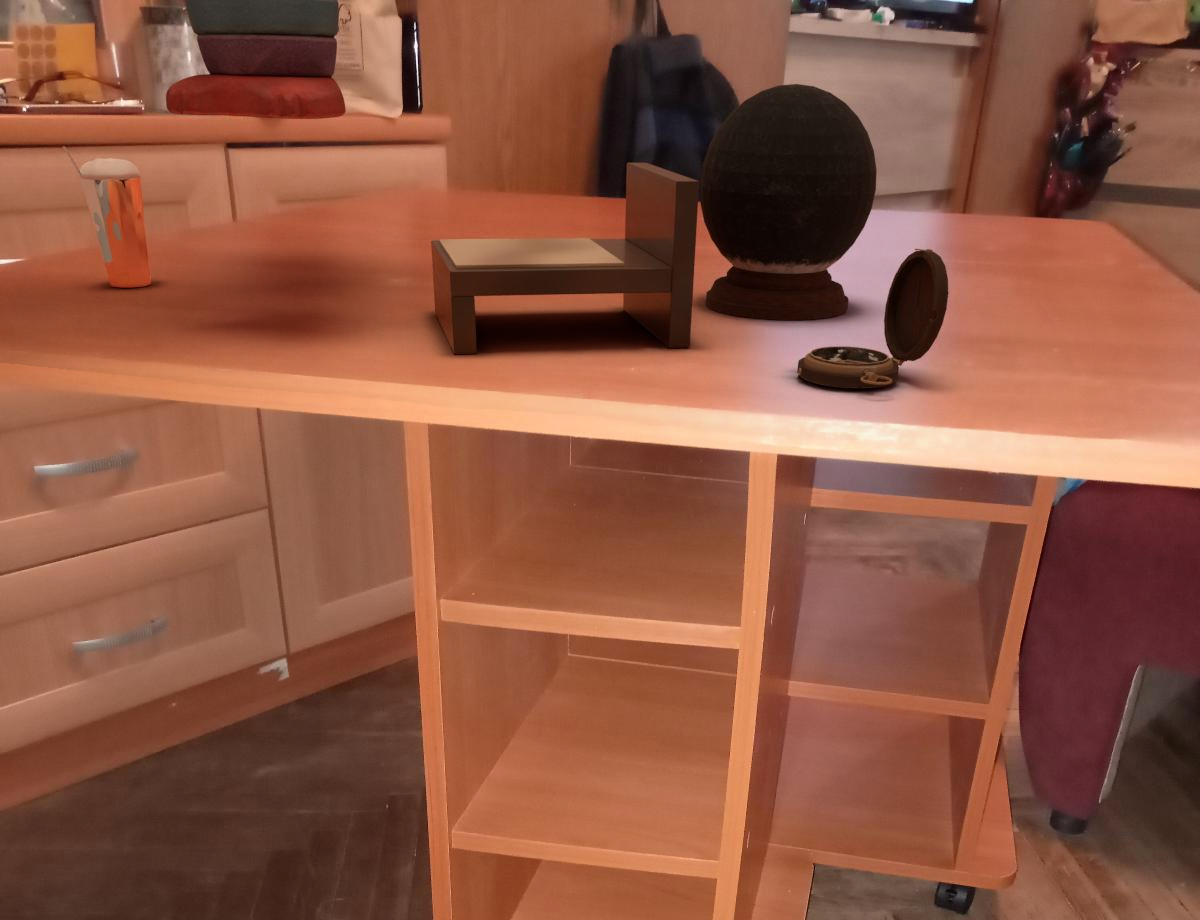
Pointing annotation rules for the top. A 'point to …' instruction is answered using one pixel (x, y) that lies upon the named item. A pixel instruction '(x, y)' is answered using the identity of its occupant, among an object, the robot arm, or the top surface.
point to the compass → (890, 329)
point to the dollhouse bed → (585, 263)
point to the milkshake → (117, 218)
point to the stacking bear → (262, 60)
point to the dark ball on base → (786, 202)
